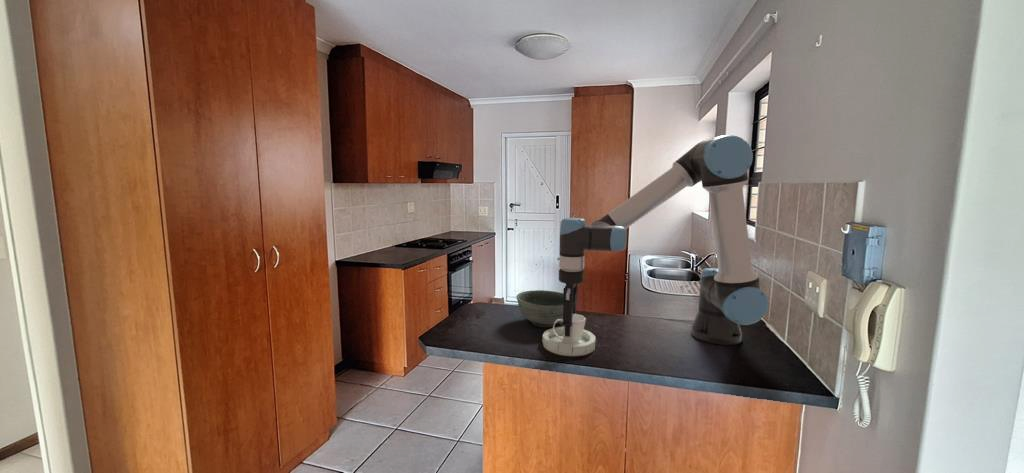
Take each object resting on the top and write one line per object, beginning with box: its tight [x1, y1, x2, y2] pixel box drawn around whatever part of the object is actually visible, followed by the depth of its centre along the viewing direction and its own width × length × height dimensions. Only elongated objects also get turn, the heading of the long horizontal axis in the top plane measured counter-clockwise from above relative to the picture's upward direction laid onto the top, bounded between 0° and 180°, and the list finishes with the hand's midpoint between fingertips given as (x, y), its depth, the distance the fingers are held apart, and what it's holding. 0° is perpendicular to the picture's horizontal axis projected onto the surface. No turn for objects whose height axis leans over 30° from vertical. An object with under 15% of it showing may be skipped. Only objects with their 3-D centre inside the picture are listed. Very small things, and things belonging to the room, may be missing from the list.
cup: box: [552, 313, 587, 345], centre depth 127 cm, size 7×10×8 cm
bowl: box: [515, 289, 564, 328], centre depth 146 cm, size 21×21×10 cm
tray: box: [542, 326, 597, 357], centre depth 127 cm, size 16×16×3 cm
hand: (569, 340), depth 127 cm, fingers closed on cup, 7 cm apart
